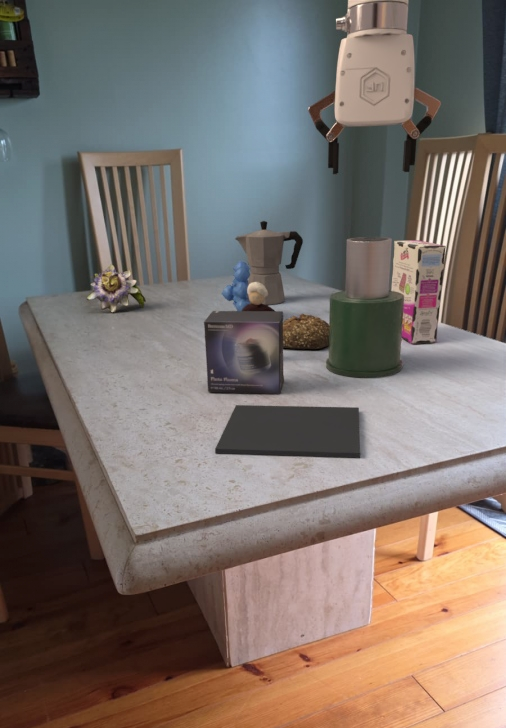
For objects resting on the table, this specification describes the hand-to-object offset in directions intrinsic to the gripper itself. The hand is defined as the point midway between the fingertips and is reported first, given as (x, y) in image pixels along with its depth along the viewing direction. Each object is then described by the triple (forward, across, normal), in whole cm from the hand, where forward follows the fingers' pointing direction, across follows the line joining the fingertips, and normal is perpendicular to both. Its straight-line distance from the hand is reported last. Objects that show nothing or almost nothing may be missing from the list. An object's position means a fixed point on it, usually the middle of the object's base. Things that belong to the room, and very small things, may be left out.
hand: (370, 172), depth 86 cm
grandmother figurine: (+28, -17, +3) cm, 33 cm away
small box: (+28, -17, -11) cm, 35 cm away
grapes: (+28, -25, +31) cm, 49 cm away
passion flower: (+28, -56, +44) cm, 76 cm away
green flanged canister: (+28, 0, 0) cm, 28 cm away
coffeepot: (+28, -21, +52) cm, 63 cm away
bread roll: (+28, -11, +15) cm, 34 cm away
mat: (+28, -9, -27) cm, 40 cm away
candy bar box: (+28, +9, +19) cm, 35 cm away
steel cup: (+17, 0, 0) cm, 17 cm away
